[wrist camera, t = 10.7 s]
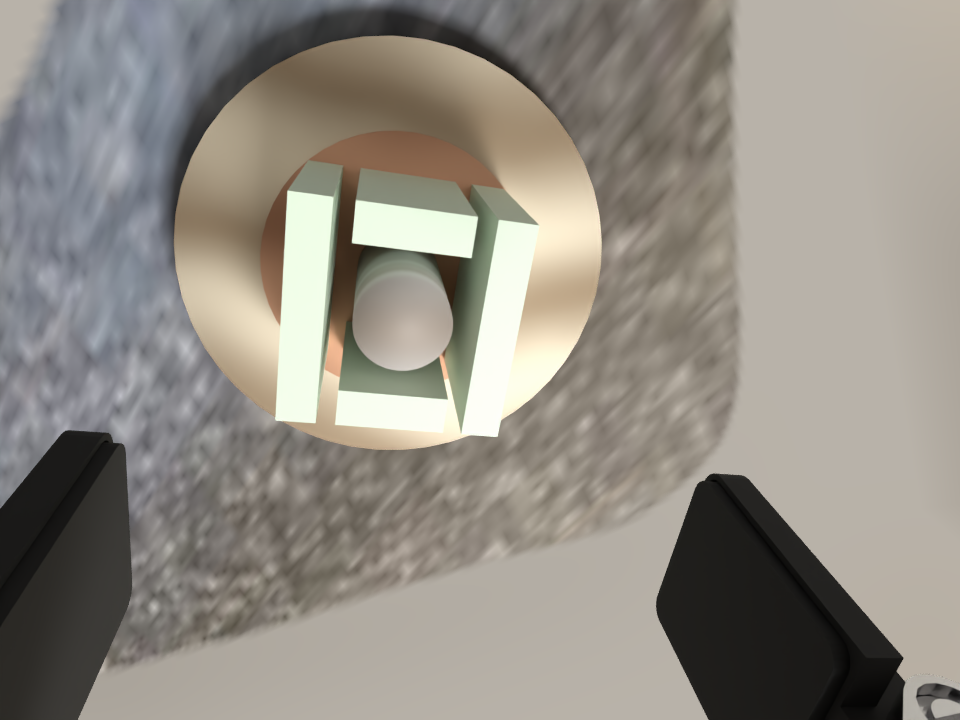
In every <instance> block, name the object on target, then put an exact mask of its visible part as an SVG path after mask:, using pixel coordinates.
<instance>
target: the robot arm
mask: <svg viewBox="0 0 960 720" xmlns="http://www.w3.org/2000/svg"><path fill="white" fill-rule="evenodd" d="M131 590H132V571H131V550H130V530H129V510H128V490H127V470H126V452H125V447H124V445H123V444H120V443H113V440H112V437H111V435H110V434H109V433H101V432H87V431H72V430H68V431H65V432H63V433H62V434H61V435H60V437H59V438H58V439H57V440H56V441H55V443H54V444H53V445H52V446H51V448H50V449H49V450H48V451H47V452H46V454H45V455H44V456H43V457H42V459H41V460H40V461H39V462H38V463H37V465H36V466H35V467H34V468H33V470H32V471H31V472H30V473H29V474H28V476H27V477H26V478H25V479H24V481H23V482H22V483H21V484H20V485H19V487H18V488H17V489H16V490H15V492H14V493H13V494H12V495H11V496H10V498H9V499H8V500H7V501H6V503H5V504H4V505H3V506H2V507H1V509H0V720H78V718H79V715H80V713H81V711H82V709H83V706H84V704H85V702H86V700H87V698H88V695H89V693H90V691H91V689H92V686H93V684H94V682H95V680H96V677H97V675H98V673H99V671H100V668H101V666H102V664H103V662H104V659H105V657H106V655H107V653H108V650H109V648H110V646H111V644H112V641H113V639H114V637H115V635H116V632H117V630H118V628H119V626H120V623H121V621H122V619H123V617H124V614H125V612H126V610H127V607H128V605H129V601H130V597H131ZM656 608H657V615H658V618H659V621H660V623H661V624H662V627H663V629H664V631H665V633H666V635H667V637H668V639H669V641H670V643H671V645H672V647H673V649H674V651H675V653H676V655H677V657H678V659H679V661H680V663H681V665H682V667H683V669H684V671H685V673H686V675H687V677H688V679H689V681H690V683H691V685H692V687H693V689H694V691H695V693H696V695H697V697H698V699H699V701H700V703H701V705H702V707H703V709H704V711H705V713H706V715H707V717H708V719H709V720H960V684H959V683H957V682H954V681H952V680H949V679H947V678H944V677H940V676H935V675H930V674H921V675H914V676H912V677H911V678H909V679H908V680H906V682H905V681H904V680H903V679H902V678H901V677H900V675H899V674H898V673H897V672H896V671H897V669H898V667H899V665H900V664H901V662H902V660H903V657H902V656H901V655H900V653H899V652H898V651H897V650H896V649H895V648H894V647H893V645H892V644H891V643H890V642H889V641H888V640H887V639H886V637H885V636H884V635H883V634H882V633H881V631H880V630H879V629H878V628H877V627H876V626H875V625H874V624H873V623H872V621H871V620H870V619H869V618H868V616H867V615H866V614H865V613H864V612H863V611H862V610H861V608H860V607H859V606H858V605H857V604H856V603H855V602H854V600H853V599H852V598H851V597H850V596H849V595H848V593H847V592H846V591H845V590H844V589H843V588H842V587H841V585H840V584H839V583H838V582H837V581H836V580H835V578H834V577H833V576H832V575H831V574H830V573H829V572H828V570H827V569H826V568H825V567H824V566H823V565H822V564H821V562H820V561H819V560H818V559H817V558H816V556H815V555H814V554H813V553H812V552H811V551H810V550H809V548H808V547H807V546H806V545H805V544H804V543H803V541H802V540H801V539H800V538H799V537H798V536H797V535H796V533H795V532H794V531H793V530H792V529H791V528H790V527H789V525H788V524H787V523H786V522H785V521H784V520H783V518H782V517H781V516H780V515H779V514H778V513H777V512H776V510H775V509H774V508H773V507H772V506H771V505H770V503H769V502H768V501H767V500H766V499H765V498H764V497H763V495H762V494H761V493H760V492H759V491H758V490H757V489H756V487H755V486H754V485H753V484H752V483H751V482H750V480H749V479H747V478H746V477H745V476H741V475H728V474H710V475H709V476H708V477H707V478H706V480H705V481H702V482H699V483H698V484H697V487H696V488H695V491H694V494H693V496H692V499H691V502H690V505H689V508H688V511H687V514H686V516H685V519H684V522H683V526H682V528H681V531H680V534H679V536H678V539H677V542H676V545H675V548H674V551H673V554H672V556H671V559H670V562H669V565H668V568H667V571H666V573H665V576H664V579H663V582H662V585H661V588H660V590H659V593H658V596H657V601H656Z"/></svg>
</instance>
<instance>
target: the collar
mask: <svg viewBox="0 0 960 720" xmlns="http://www.w3.org/2000/svg"><path fill="white" fill-rule="evenodd" d="M342 176H343V165H338V164H331V163H325V162H318V161H311V160H308V161H307V163H306V164H305V166H304V167H303V169H302V170H301V172H300V173H299V175H298V176H297V177H296V179H295V180H294V182H293V183H292V185H291V186H290V188H289V189H288V191H287V210H286V229H285V248H284V267H283V285H282V304H281V323H280V342H279V361H278V379H277V398H276V417H275V420H277V421H290V422H304V423H316V417H317V411H318V405H319V399H320V393H321V387H322V382H323V376H324V370H325V364H326V358H327V352H328V344H329V332H330V320H331V308H332V296H333V284H334V272H335V260H336V248H337V236H338V224H339V212H340V200H341V188H342ZM539 226H540V225H539V224H538V223H537V222H536V221H535V220H534V219H533V218H532V217H531V216H530V215H529V214H528V213H527V212H526V211H525V210H524V209H523V208H522V207H521V206H520V205H519V204H518V203H517V202H516V201H515V200H514V199H513V198H512V197H511V196H510V195H509V194H508V193H507V192H506V191H505V190H504V189H500V188H494V187H487V186H480V185H473V184H472V186H471V193H470V199H469V202H468V200H467V199H466V197H465V196H464V194H463V193H462V191H461V189H460V188H459V186H458V185H457V183H456V182H453V181H446V180H440V179H433V178H426V177H419V176H413V175H406V174H399V173H392V172H385V171H379V170H372V169H365V168H361V169H360V176H359V183H358V189H357V196H356V204H355V215H354V226H353V237H352V243H355V244H363V245H371V246H379V247H387V248H394V249H402V250H410V251H418V252H426V253H434V254H442V255H450V256H458V257H460V263H459V269H458V275H457V282H456V288H455V295H454V301H453V307H452V317H453V331H452V335H451V338H450V341H449V343H448V345H447V347H446V352H445V358H444V360H445V364H446V369H447V373H448V378H449V382H450V387H451V391H452V395H453V400H454V404H455V409H456V413H457V418H458V422H459V427H460V431H461V434H465V435H478V436H492V437H497V436H498V431H499V426H500V421H501V416H502V411H503V406H504V401H505V396H506V391H507V386H508V381H509V376H510V371H511V366H512V361H513V356H514V351H515V346H516V341H517V336H518V331H519V326H520V321H521V316H522V311H523V306H524V301H525V296H526V291H527V286H528V281H529V276H530V271H531V266H532V261H533V256H534V251H535V246H536V241H537V236H538V231H539ZM447 405H448V396H447V391H446V386H445V382H444V377H443V372H442V367H441V363H440V358H439V357H438V358H436V359H435V360H434V361H433V362H431V363H429V364H428V365H426V366H423V367H421V368H418V369H414V370H408V371H397V370H391V369H387V368H384V367H381V366H379V365H377V364H376V363H374V362H372V361H371V360H370V359H368V358H367V357H366V356H365V355H364V354H363V352H362V351H361V350H360V348H359V347H358V345H357V343H356V340H355V338H354V334H353V327H352V322H350V321H346V329H345V337H344V346H343V355H342V363H341V372H340V380H339V389H338V399H337V410H336V421H335V425H344V426H358V427H371V428H384V429H398V430H411V431H425V432H438V433H443V429H444V423H445V417H446V411H447Z"/></svg>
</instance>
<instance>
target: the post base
mask: <svg viewBox="0 0 960 720" xmlns="http://www.w3.org/2000/svg"><path fill="white" fill-rule="evenodd" d="M308 160H311V161H318V162H325V163H331V164H338V165H343V176H342V188H341V200H340V212H339V224H338V236H337V248H336V260H335V272H334V284H333V296H332V308H331V320H330V332H329V344H328V352H327V358H326V364H325V370H324V376H323V382H322V387H321V393H320V399H319V405H318V411H317V417H316V423H304V422H290V421H283V422H285V423H287V424H288V425H290V426H292V427H294V428H296V429H298V430H300V431H302V432H305V433H308V434H310V435H313V436H316V437H319V438H321V439H324V440H327V441H331V442H335V443H339V444H343V445H347V446H352V447H360V448H368V449H379V450H403V449H413V448H423V447H429V446H433V445H438V444H443V443H447V442H451V441H454V440H457V439H460V438H463V437H466V436H469V435H465V434H461V431H460V427H459V422H458V418H457V413H456V409H455V404H454V400H453V395H452V391H451V387H450V382H449V378H448V373H447V369H446V364H445V360H444V358H445V352H446V347H447V345H448V343H449V341H450V338H451V335H452V331H453V317H452V307H453V301H454V295H455V288H456V282H457V275H458V269H459V263H460V257H458V256H450V255H442V254H434V253H426V252H418V251H410V250H402V249H394V248H387V247H379V246H371V245H363V244H355V243H352V237H353V226H354V215H355V204H356V196H357V189H358V183H359V176H360V169H361V168H365V169H372V170H379V171H385V172H392V173H399V174H406V175H413V176H419V177H426V178H433V179H440V180H446V181H453V182H456V183H457V185H458V186H459V188H460V189H461V191H462V193H463V194H464V196H465V197H466V199H467V200H468V202H469V199H470V193H471V186H472V184H473V185H480V186H487V187H494V188H500V189H504V190H505V191H506V192H507V193H508V194H509V195H510V196H511V197H512V198H513V199H514V200H515V201H516V202H517V203H518V204H519V205H520V206H521V207H522V208H523V209H524V210H525V211H526V212H527V213H528V214H529V215H530V216H531V217H532V218H533V219H534V220H535V221H536V222H537V223H538V224H539V225H540V226H539V231H538V236H537V241H536V246H535V251H534V256H533V261H532V266H531V271H530V276H529V281H528V286H527V291H526V296H525V301H524V306H523V311H522V316H521V321H520V326H519V331H518V336H517V341H516V346H515V351H514V356H513V361H512V366H511V371H510V376H509V381H508V386H507V391H506V396H505V401H504V406H503V411H502V416H501V419H503V418H505V417H506V416H508V415H510V414H511V413H513V412H514V411H516V410H517V409H518V408H520V407H521V406H522V405H523V404H525V403H526V402H527V401H528V400H530V399H531V398H532V397H533V396H534V395H535V394H536V393H537V392H538V391H539V390H540V389H542V388H543V387H544V386H545V385H546V384H547V383H548V382H549V381H550V380H551V378H552V377H553V376H554V374H555V373H556V372H557V371H558V369H559V368H560V367H561V366H562V364H563V363H564V362H565V361H566V359H567V357H568V356H569V354H570V352H571V351H572V349H573V347H574V346H575V344H576V343H577V341H578V339H579V337H580V335H581V333H582V330H583V328H584V326H585V324H586V322H587V319H588V317H589V314H590V311H591V308H592V304H593V301H594V298H595V295H596V290H597V285H598V279H599V273H600V267H601V245H602V240H601V228H600V217H599V211H598V207H597V202H596V198H595V193H594V189H593V186H592V183H591V181H590V178H589V175H588V172H587V170H586V167H585V164H584V162H583V160H582V158H581V156H580V154H579V153H578V151H577V149H576V147H575V145H574V143H573V141H572V139H571V138H570V136H569V135H568V133H567V132H566V131H565V129H564V128H563V126H562V125H561V124H560V122H559V121H558V119H557V118H556V117H555V115H554V114H553V113H552V112H551V111H550V110H549V109H548V108H547V107H546V106H545V105H544V104H543V102H542V101H541V100H540V99H539V98H538V97H537V96H536V95H535V94H534V93H533V92H531V91H530V90H529V89H528V88H526V87H525V86H524V85H523V84H522V83H520V82H519V81H518V80H517V79H515V78H514V77H513V76H512V75H510V74H508V73H507V72H505V71H503V70H502V69H500V68H498V67H497V66H495V65H493V64H492V63H490V62H488V61H487V60H485V59H483V58H480V57H478V56H476V55H473V54H471V53H469V52H466V51H464V50H461V49H459V48H457V47H453V46H449V45H446V44H442V43H438V42H434V41H430V40H427V39H419V38H411V37H402V36H362V37H357V38H351V39H345V40H340V41H334V42H329V43H326V44H323V45H320V46H317V47H314V48H311V49H308V50H305V51H302V52H300V53H298V54H296V55H294V56H292V57H290V58H288V59H286V60H284V61H282V62H280V63H278V64H276V65H274V66H272V67H271V68H270V69H268V70H267V71H265V72H264V73H262V74H261V75H260V76H258V77H257V78H255V79H254V80H253V81H251V82H250V83H248V84H247V85H246V86H245V87H244V88H243V89H242V90H241V91H240V92H239V93H238V94H237V95H236V96H235V97H234V98H233V99H232V100H230V101H229V102H228V103H227V104H226V105H225V106H224V108H223V109H222V110H221V112H220V113H219V114H218V116H217V117H216V118H215V119H214V121H213V122H212V123H211V125H210V126H209V127H208V129H207V130H206V132H205V133H204V135H203V137H202V139H201V141H200V143H199V144H198V146H197V148H196V150H195V152H194V153H193V155H192V157H191V160H190V163H189V166H188V168H187V171H186V174H185V176H184V179H183V182H182V185H181V189H180V194H179V199H178V204H177V208H176V214H175V230H174V251H175V263H176V272H177V276H178V281H179V285H180V290H181V294H182V298H183V301H184V304H185V306H186V309H187V312H188V314H189V317H190V320H191V322H192V324H193V326H194V328H195V330H196V332H197V334H198V336H199V338H200V340H201V341H202V343H203V345H204V347H205V349H206V350H207V351H208V353H209V354H210V356H211V357H212V358H213V360H214V361H215V363H216V364H217V365H218V367H219V368H220V370H221V371H222V372H223V373H224V374H225V375H226V376H227V377H228V378H229V379H230V380H231V382H232V383H233V384H234V385H235V386H236V387H237V388H238V389H239V390H240V391H241V392H243V393H244V394H245V395H246V396H247V397H248V398H250V399H251V400H252V401H253V402H254V403H255V404H257V405H258V406H259V407H261V408H262V409H264V410H265V411H267V412H268V413H270V414H271V415H273V416H274V417H276V398H277V379H278V361H279V342H280V323H281V304H282V285H283V267H284V248H285V229H286V210H287V191H288V189H289V188H290V186H291V185H292V183H293V182H294V180H295V179H296V177H297V176H298V175H299V173H300V172H301V170H302V169H303V167H304V166H305V164H306V163H307V161H308ZM346 321H350V322H352V327H353V334H354V338H355V340H356V343H357V345H358V347H359V348H360V350H361V351H362V352H363V354H364V355H365V356H366V357H367V358H368V359H370V360H371V361H372V362H374V363H376V364H377V365H379V366H381V367H384V368H387V369H391V370H397V371H408V370H414V369H418V368H421V367H423V366H426V365H428V364H429V363H431V362H433V361H434V360H435V359H436V358H438V357H439V358H440V363H441V367H442V372H443V377H444V382H445V386H446V391H447V396H448V405H447V411H446V417H445V423H444V429H443V433H438V432H425V431H411V430H398V429H384V428H371V427H358V426H344V425H335V421H336V410H337V399H338V389H339V380H340V372H341V363H342V355H343V346H344V337H345V329H346Z"/></svg>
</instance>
